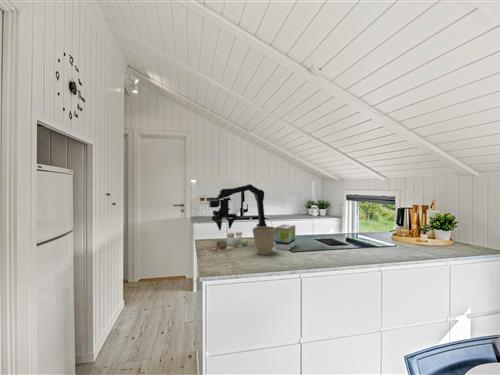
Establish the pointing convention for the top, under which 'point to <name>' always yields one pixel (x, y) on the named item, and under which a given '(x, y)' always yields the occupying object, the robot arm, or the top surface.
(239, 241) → the jar
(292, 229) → the tea box
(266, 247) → the plant pot
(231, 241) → the jar
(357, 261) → the top surface
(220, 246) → the token
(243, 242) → the lime
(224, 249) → the board
